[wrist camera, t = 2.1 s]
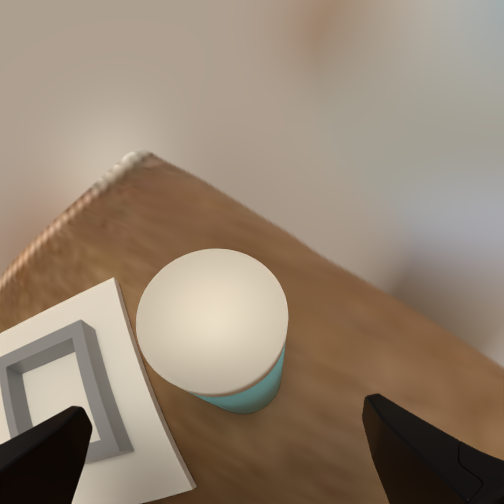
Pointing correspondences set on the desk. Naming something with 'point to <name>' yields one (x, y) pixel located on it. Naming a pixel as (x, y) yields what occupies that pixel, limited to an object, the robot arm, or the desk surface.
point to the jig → (92, 396)
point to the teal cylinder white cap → (216, 328)
